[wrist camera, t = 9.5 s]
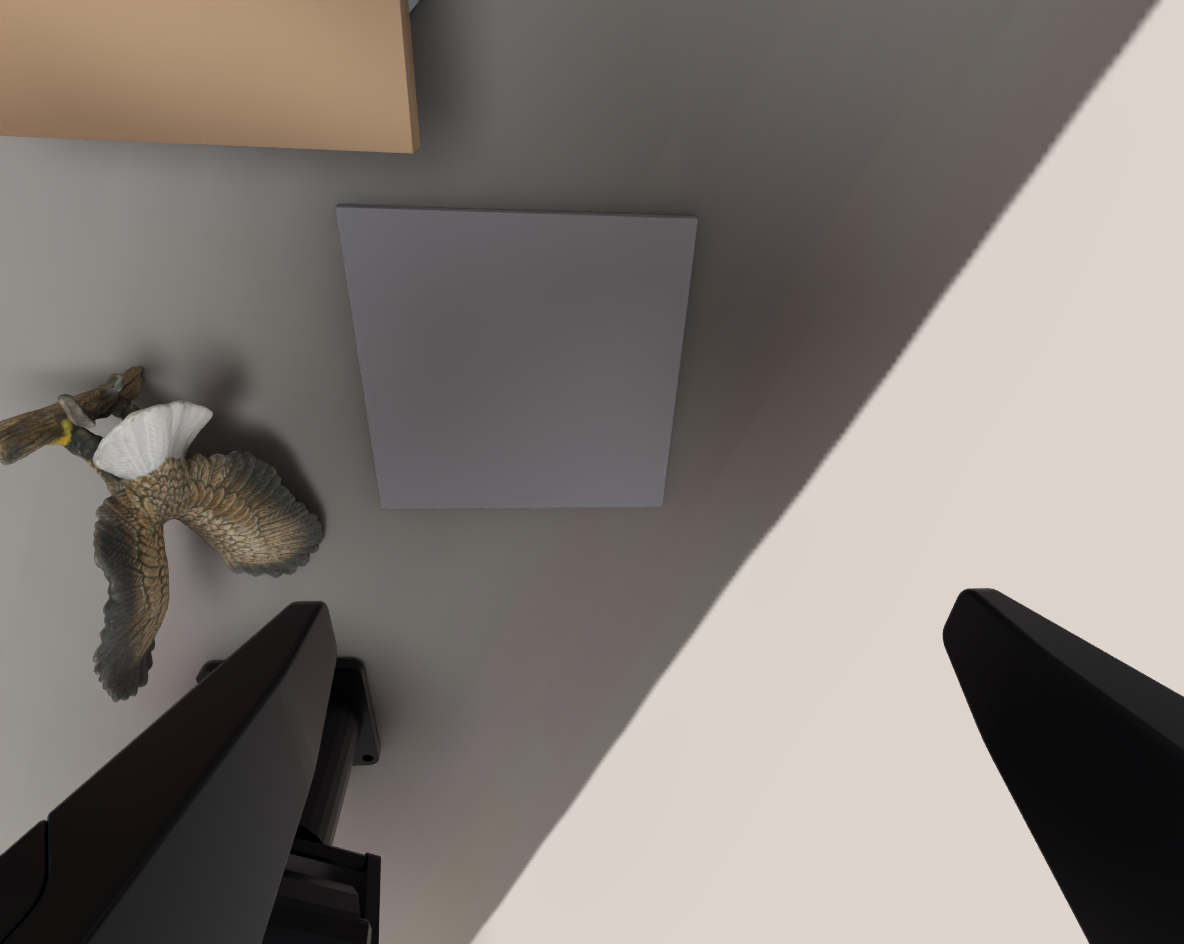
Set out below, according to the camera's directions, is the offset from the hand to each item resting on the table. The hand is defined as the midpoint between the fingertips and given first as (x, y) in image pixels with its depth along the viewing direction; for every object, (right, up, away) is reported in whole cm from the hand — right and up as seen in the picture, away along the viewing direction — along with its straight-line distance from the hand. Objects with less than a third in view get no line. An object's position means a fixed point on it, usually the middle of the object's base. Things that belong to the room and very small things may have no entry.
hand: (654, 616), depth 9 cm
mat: (-3, +5, +12) cm, 13 cm away
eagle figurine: (-14, +2, +13) cm, 19 cm away
